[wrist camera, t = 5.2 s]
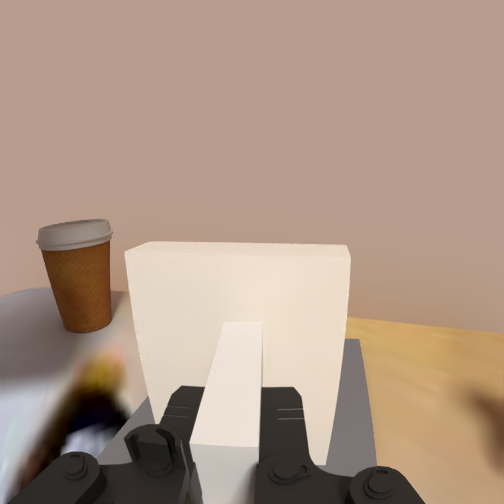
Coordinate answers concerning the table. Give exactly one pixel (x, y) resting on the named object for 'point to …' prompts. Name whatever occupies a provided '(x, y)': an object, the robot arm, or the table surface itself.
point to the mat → (343, 431)
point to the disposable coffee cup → (79, 271)
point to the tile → (243, 318)
